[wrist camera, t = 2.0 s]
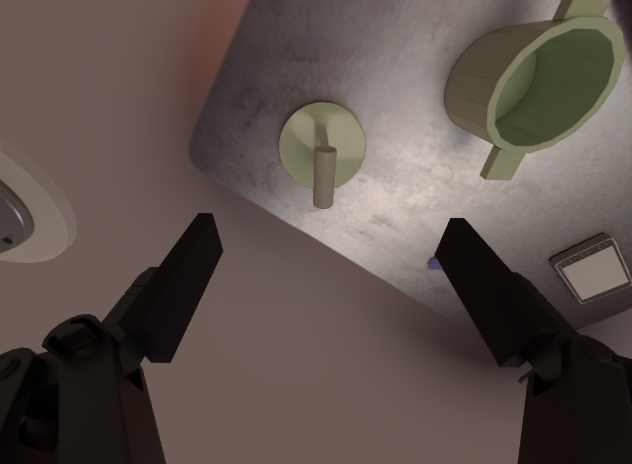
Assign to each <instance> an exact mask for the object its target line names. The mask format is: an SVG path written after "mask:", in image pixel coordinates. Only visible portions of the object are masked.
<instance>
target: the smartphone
mask: <svg viewBox="0 0 632 464" xmlns="http://www.w3.org/2000/svg"><path fill="white" fill-rule="evenodd" d="M550 263H551V264H552V266H553V267H554V269H555V270H556V271H557V273H558V274H559V276H560V277H561V279H562V280H563V281H564V283H565V284H566V286H567V287H568V289H569V290H570V291H571V293H572V294H573V296H574V297H575V298H576V299H577V300H578V301H579V302H580V303H581V304H585V303H588V302H591V301H593V300H596V299H598V298H601V297H604V296H606V295H609V294H611V293H614V292H616V291H619V290H622V289H624V288H627V287H629V286H631V285H632V278H631V276H630V274H629V271H628V269H627V267H626V264H625V262H624V260H623V258H622V255H621V253H620V251H619V248H618V246H617V244H616V241H615V239H613V238H612V237H610V236H609V235H607V234H600V235H598V236H596V237H594V238H592V239H590V240H588V241H586V242H583V243H581V244H579V245H577V246H575V247H573V248H571V249H569V250H567V251H565V252H563V253H561V254H559V255H557V256H555V257H553V258H552V259H551V260H550Z"/></svg>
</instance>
